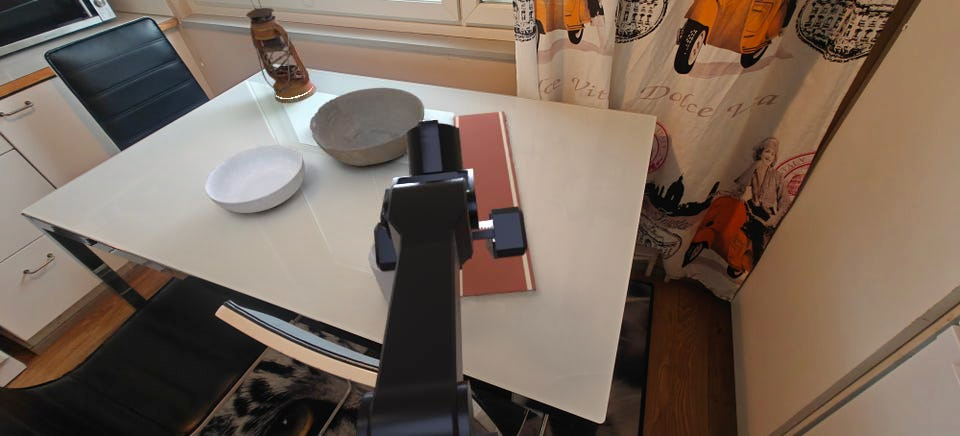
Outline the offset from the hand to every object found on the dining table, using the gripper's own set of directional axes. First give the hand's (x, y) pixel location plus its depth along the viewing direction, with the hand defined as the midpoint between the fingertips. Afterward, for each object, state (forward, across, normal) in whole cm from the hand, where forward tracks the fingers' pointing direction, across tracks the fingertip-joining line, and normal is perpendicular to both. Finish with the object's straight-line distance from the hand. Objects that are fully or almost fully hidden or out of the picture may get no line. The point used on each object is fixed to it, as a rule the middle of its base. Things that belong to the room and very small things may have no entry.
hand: (456, 246), depth 59 cm
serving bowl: (+32, +45, -21) cm, 59 cm away
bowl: (+41, +20, -33) cm, 56 cm away
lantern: (+62, +51, -63) cm, 102 cm away
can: (+14, +11, +5) cm, 18 cm away
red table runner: (+29, -6, -17) cm, 34 cm away
